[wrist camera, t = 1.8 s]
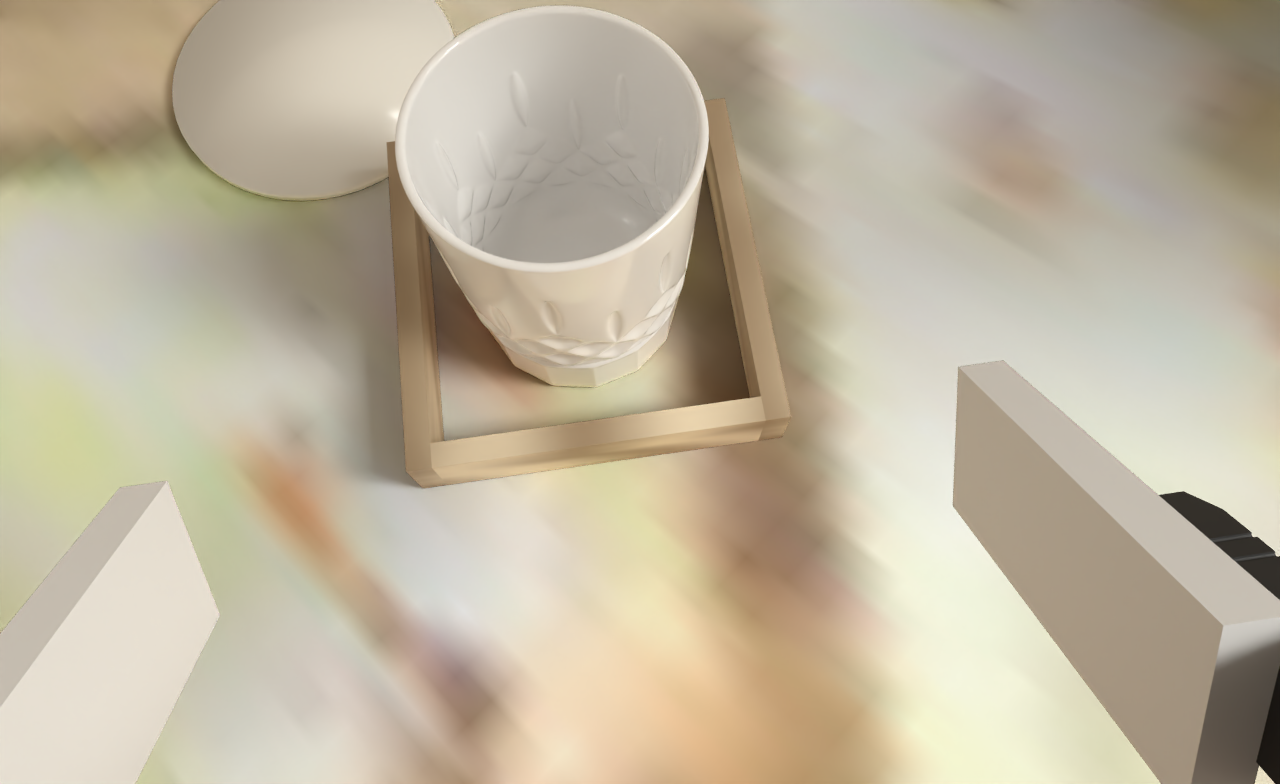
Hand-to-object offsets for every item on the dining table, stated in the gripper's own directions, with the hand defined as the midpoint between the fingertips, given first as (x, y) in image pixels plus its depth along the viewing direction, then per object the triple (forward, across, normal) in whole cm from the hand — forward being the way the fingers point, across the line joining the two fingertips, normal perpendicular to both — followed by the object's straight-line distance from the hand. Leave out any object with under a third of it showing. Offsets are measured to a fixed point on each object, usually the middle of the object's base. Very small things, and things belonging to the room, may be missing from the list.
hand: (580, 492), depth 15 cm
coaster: (+25, -9, +5) cm, 27 cm away
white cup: (+18, 0, -3) cm, 18 cm away
